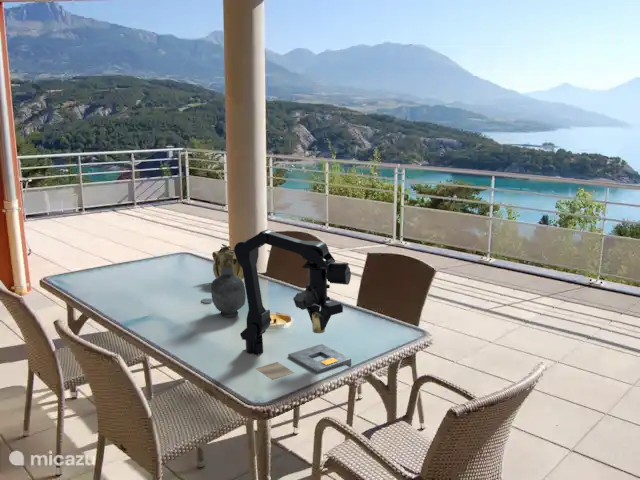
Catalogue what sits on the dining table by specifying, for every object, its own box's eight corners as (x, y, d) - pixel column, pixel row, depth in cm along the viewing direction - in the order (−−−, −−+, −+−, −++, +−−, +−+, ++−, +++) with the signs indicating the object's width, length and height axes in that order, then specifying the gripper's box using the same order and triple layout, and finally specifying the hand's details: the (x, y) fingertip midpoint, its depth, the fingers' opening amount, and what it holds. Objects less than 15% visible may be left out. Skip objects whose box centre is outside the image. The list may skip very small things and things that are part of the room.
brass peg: (310, 330, 178) (309, 313, 177) (319, 327, 180) (319, 310, 179) (317, 334, 175) (317, 316, 173) (327, 331, 177) (327, 313, 176)
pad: (255, 371, 173) (255, 368, 173) (277, 364, 178) (277, 361, 178) (272, 382, 166) (272, 379, 165) (294, 375, 170) (294, 372, 170)
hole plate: (288, 359, 182) (288, 353, 181) (321, 349, 190) (321, 343, 190) (316, 376, 169) (316, 369, 169) (351, 364, 177) (351, 358, 177)
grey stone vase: (225, 322, 218) (221, 249, 212) (206, 309, 233) (202, 241, 227) (249, 316, 224) (246, 245, 218) (229, 305, 239) (226, 238, 233)
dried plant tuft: (203, 282, 275) (201, 253, 272) (229, 275, 288) (227, 247, 285) (232, 290, 261) (231, 260, 258) (258, 282, 274) (257, 253, 271)
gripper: (280, 280, 177) (282, 325, 180) (314, 293, 162) (315, 342, 165) (308, 274, 183) (309, 318, 186) (343, 286, 168) (344, 334, 172)
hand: (318, 328), depth 177 cm, fingers closed on brass peg, 4 cm apart
